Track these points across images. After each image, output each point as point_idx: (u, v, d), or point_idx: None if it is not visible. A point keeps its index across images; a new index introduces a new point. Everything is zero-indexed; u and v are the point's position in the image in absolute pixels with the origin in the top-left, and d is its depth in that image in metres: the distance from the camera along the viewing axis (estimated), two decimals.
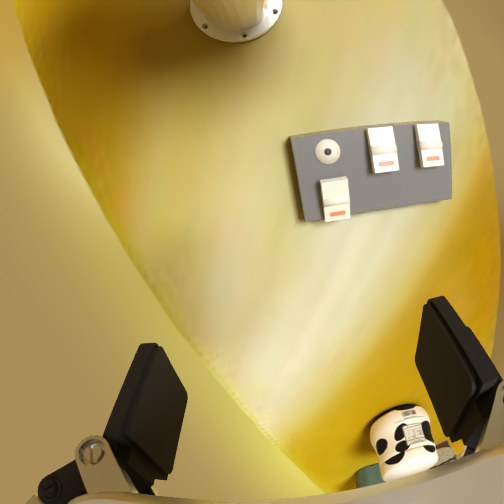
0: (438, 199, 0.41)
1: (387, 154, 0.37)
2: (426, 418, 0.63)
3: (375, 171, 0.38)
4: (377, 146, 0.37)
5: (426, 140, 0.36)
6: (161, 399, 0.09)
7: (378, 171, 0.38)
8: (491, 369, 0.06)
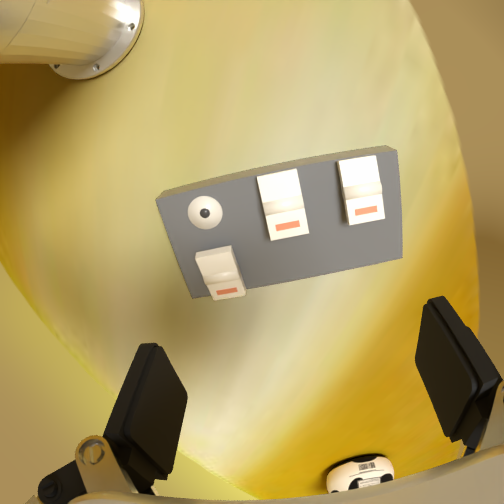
0: (381, 260, 0.32)
1: (288, 212, 0.28)
2: (387, 471, 0.54)
3: (271, 238, 0.29)
4: (272, 202, 0.28)
5: (354, 184, 0.27)
6: (161, 399, 0.09)
7: (275, 237, 0.29)
8: (491, 369, 0.06)
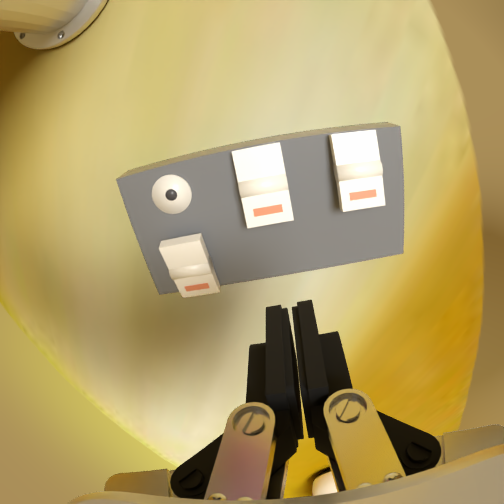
0: (378, 256, 0.28)
1: (269, 194, 0.23)
2: None
3: (248, 225, 0.24)
4: (249, 181, 0.23)
5: (350, 162, 0.22)
6: (294, 360, 0.10)
7: (253, 225, 0.24)
8: (324, 377, 0.07)
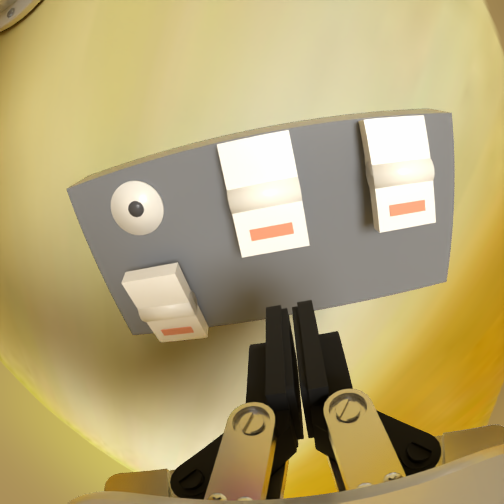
0: (416, 286, 0.20)
1: (274, 208, 0.16)
2: None
3: (242, 252, 0.17)
4: (244, 189, 0.15)
5: (390, 161, 0.14)
6: (294, 360, 0.10)
7: (250, 252, 0.17)
8: (324, 377, 0.07)
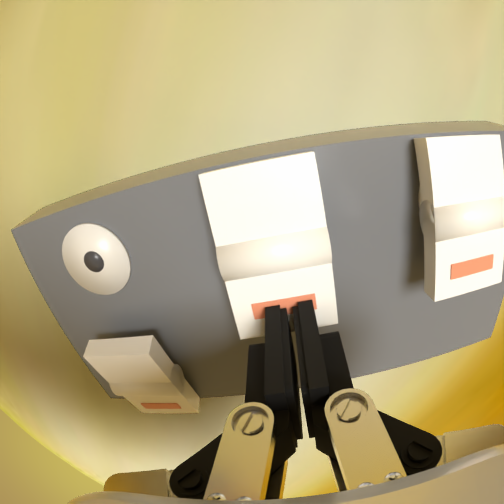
0: (458, 346, 0.14)
1: (289, 274, 0.10)
2: None
3: (241, 333, 0.11)
4: (242, 247, 0.10)
5: (459, 202, 0.09)
6: (293, 360, 0.10)
7: (252, 333, 0.11)
8: (325, 376, 0.07)
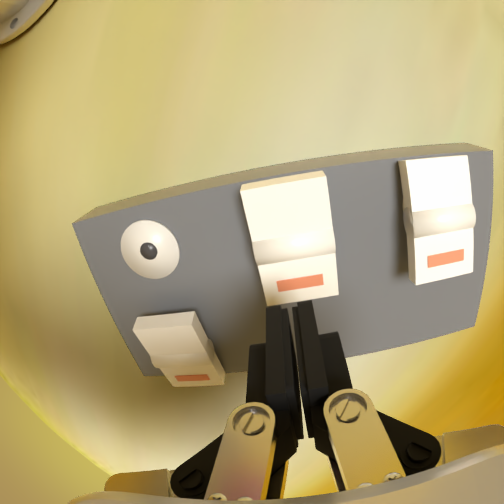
0: (445, 332, 0.18)
1: (304, 260, 0.14)
2: None
3: (268, 301, 0.16)
4: (272, 242, 0.14)
5: (432, 208, 0.13)
6: (294, 360, 0.10)
7: (276, 301, 0.15)
8: (324, 377, 0.07)
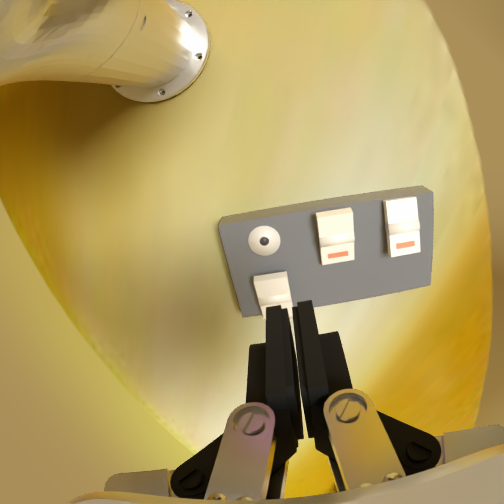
0: (412, 287, 0.35)
1: (340, 245, 0.32)
2: None
3: (322, 263, 0.33)
4: (328, 238, 0.31)
5: (397, 222, 0.30)
6: (294, 360, 0.10)
7: (326, 263, 0.33)
8: (324, 377, 0.07)
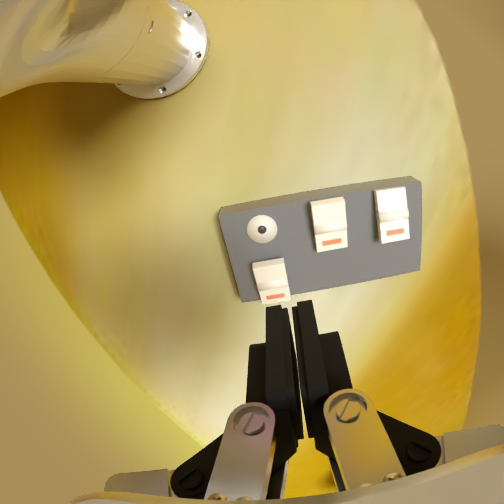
0: (402, 272, 0.37)
1: (334, 232, 0.34)
2: None
3: (317, 250, 0.35)
4: (322, 225, 0.33)
5: (387, 210, 0.32)
6: (294, 360, 0.10)
7: (321, 250, 0.35)
8: (324, 377, 0.07)
